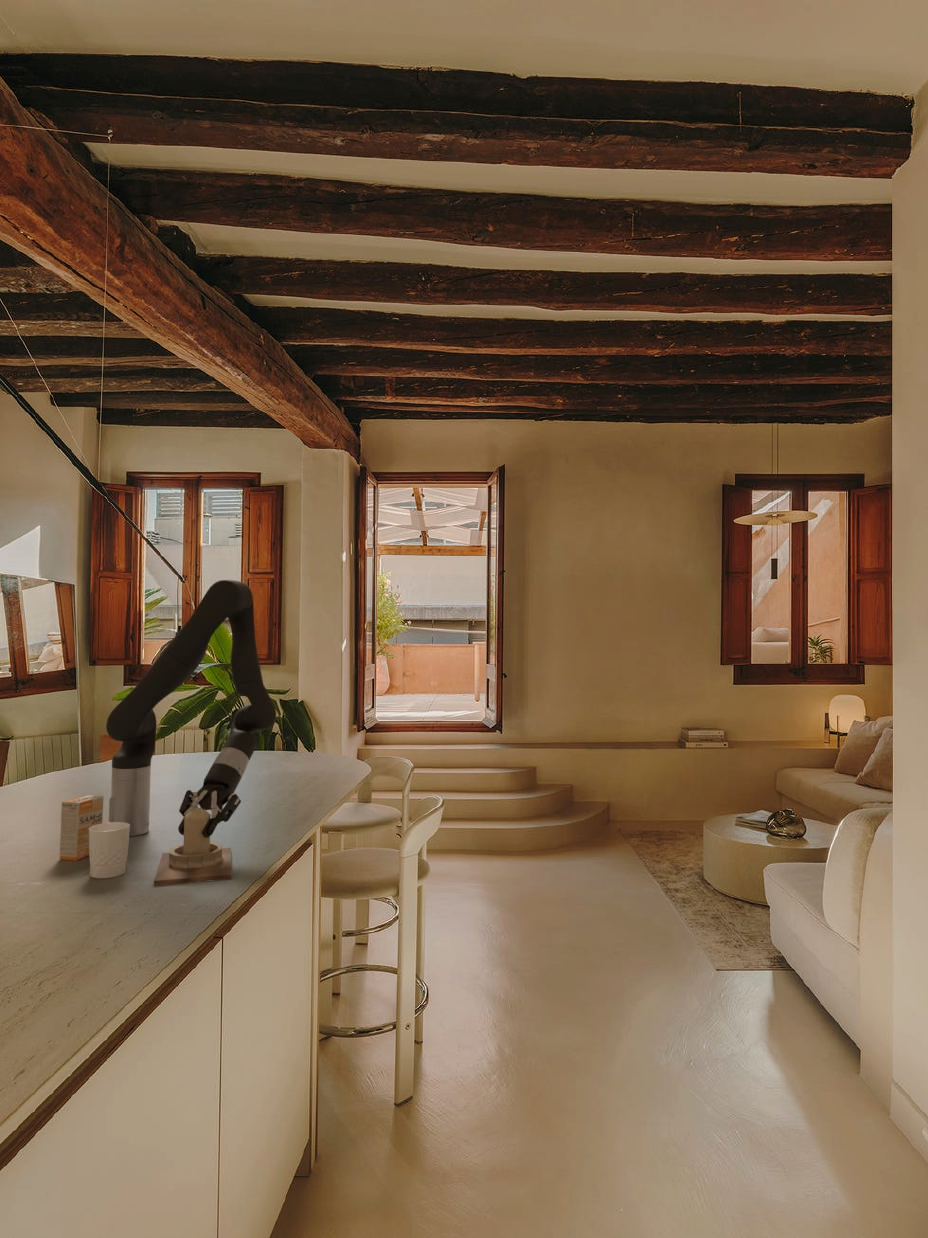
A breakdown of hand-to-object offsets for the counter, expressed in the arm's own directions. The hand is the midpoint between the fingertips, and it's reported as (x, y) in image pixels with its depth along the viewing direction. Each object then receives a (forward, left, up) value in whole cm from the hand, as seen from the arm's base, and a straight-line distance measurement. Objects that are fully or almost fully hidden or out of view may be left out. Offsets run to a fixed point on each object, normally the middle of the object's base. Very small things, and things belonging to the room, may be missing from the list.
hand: (193, 834), depth 155 cm
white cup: (-17, 0, -7) cm, 18 cm away
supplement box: (-25, +16, -7) cm, 30 cm away
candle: (+1, +1, -5) cm, 5 cm away
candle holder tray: (+1, -1, -7) cm, 7 cm away
